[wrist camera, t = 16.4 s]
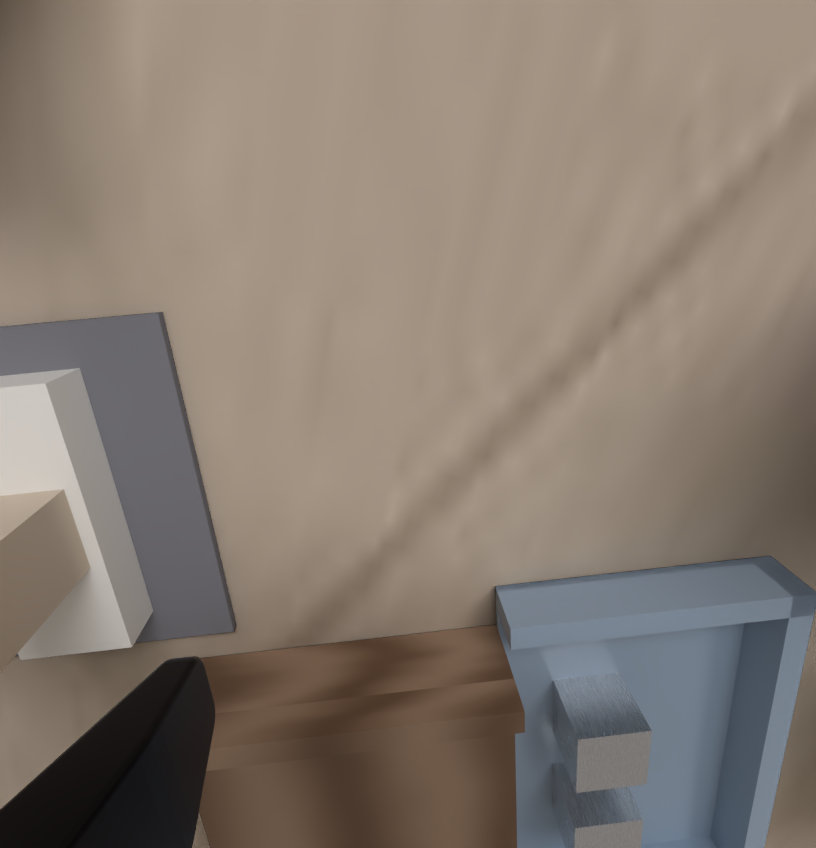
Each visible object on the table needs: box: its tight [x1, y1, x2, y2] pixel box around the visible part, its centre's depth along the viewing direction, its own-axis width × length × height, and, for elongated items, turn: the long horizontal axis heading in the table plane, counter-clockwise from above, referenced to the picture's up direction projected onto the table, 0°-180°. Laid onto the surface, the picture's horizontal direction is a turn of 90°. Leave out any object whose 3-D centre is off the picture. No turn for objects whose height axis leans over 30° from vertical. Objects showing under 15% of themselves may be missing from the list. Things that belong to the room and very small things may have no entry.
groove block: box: [199, 625, 525, 848], centre depth 23 cm, size 13×14×4 cm
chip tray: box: [495, 556, 816, 848], centre depth 24 cm, size 12×18×3 cm, turn 5°
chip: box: [553, 673, 652, 793], centre depth 23 cm, size 3×3×3 cm
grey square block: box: [552, 762, 643, 848], centre depth 25 cm, size 3×3×3 cm
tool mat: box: [0, 312, 236, 656], centre depth 20 cm, size 10×13×1 cm
